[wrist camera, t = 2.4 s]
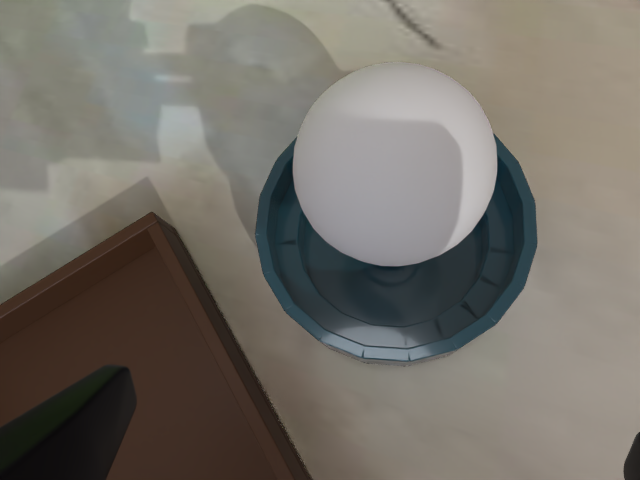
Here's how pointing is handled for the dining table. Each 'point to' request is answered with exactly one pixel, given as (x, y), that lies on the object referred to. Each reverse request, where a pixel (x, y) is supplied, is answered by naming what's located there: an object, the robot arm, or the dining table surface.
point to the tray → (146, 360)
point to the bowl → (397, 275)
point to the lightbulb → (395, 164)
